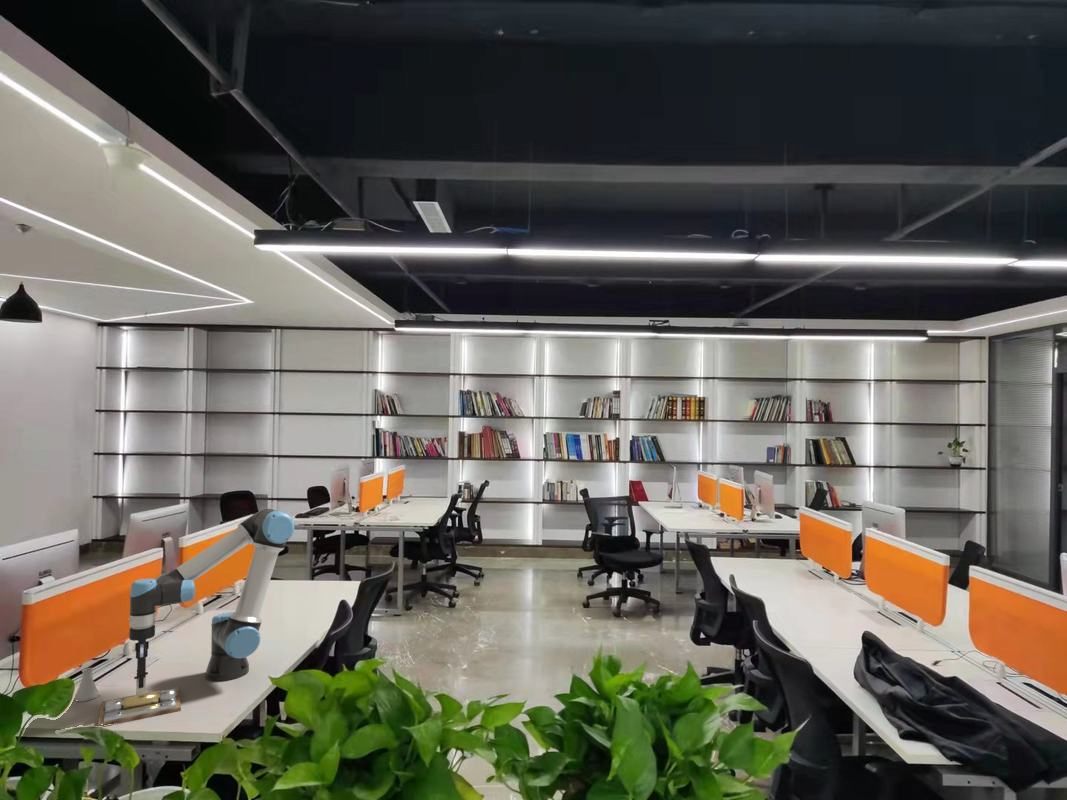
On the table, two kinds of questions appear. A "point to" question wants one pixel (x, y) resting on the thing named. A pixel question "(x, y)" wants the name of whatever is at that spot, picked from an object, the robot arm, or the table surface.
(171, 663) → the table surface
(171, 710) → the board
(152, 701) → the gold silver metal bar
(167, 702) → the fixed leaf
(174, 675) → the table surface
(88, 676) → the flask
